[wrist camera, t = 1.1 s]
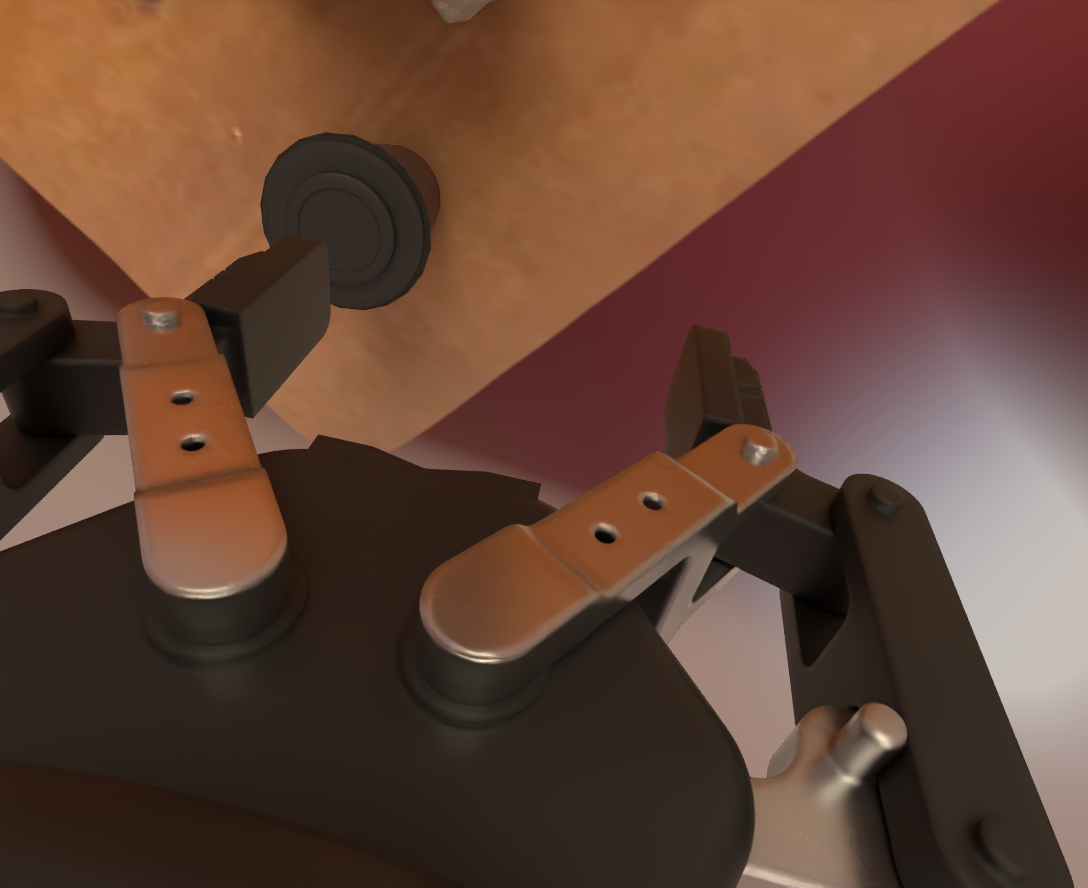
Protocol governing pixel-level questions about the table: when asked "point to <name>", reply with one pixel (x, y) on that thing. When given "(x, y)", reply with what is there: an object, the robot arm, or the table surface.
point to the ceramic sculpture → (458, 9)
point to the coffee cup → (355, 213)
